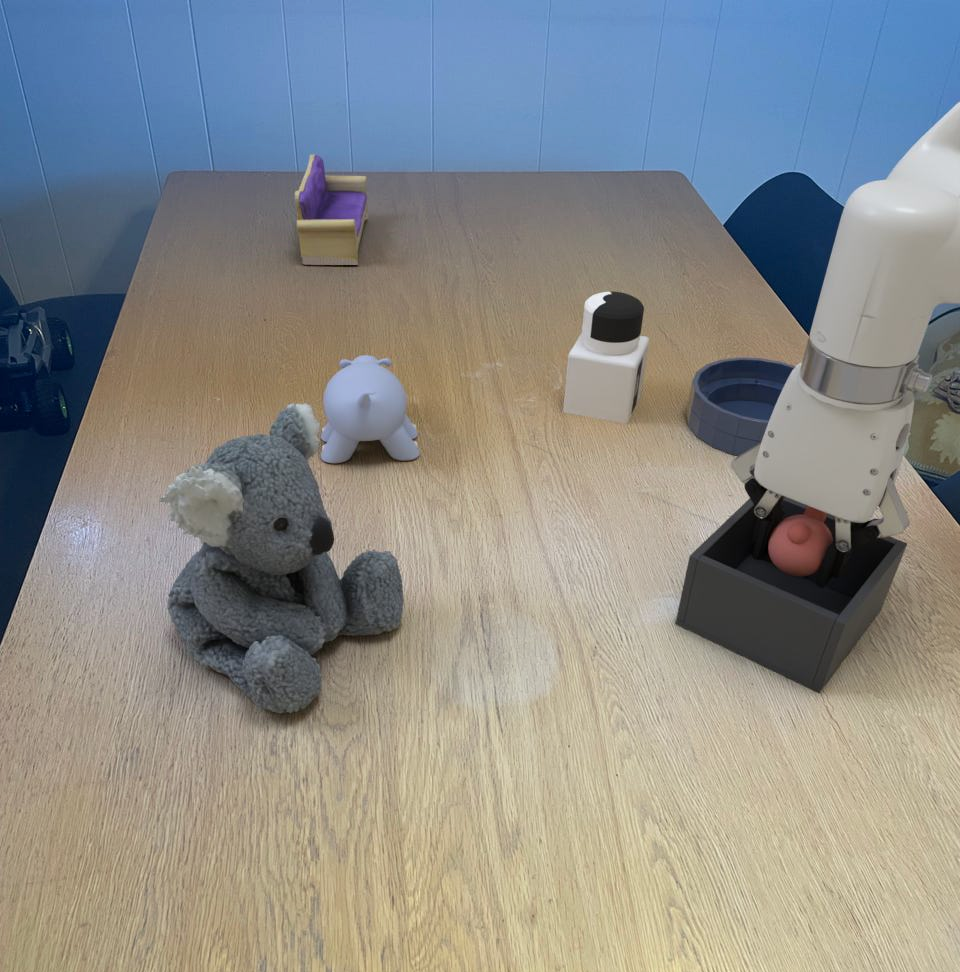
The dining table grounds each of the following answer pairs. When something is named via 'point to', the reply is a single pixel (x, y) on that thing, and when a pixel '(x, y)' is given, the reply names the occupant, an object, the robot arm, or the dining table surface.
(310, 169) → the toy sofa
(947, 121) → the robot arm
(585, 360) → the container
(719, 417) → the bowl
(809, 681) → the bin
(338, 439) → the hippopotamus toy
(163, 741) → the dining table surface
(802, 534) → the plush toy
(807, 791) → the dining table surface
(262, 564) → the koala plush
